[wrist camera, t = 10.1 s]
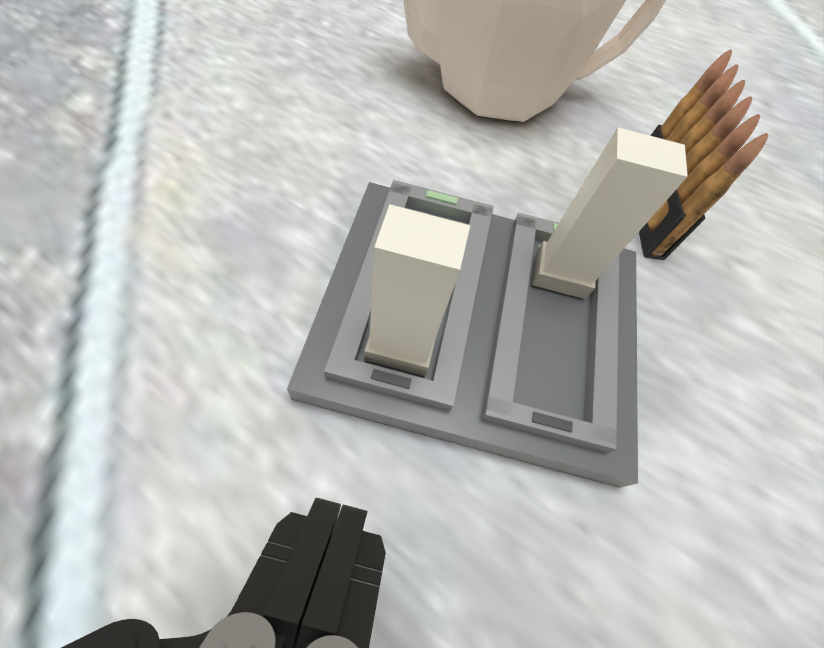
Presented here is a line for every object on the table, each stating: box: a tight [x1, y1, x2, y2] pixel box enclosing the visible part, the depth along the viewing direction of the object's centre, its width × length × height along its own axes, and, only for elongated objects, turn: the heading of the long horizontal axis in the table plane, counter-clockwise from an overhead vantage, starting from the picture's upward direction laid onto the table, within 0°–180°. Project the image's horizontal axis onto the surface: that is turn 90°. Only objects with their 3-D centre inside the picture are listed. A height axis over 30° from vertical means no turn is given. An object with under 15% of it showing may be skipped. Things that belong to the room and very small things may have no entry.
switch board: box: [287, 180, 638, 487], centre depth 31 cm, size 22×18×3 cm
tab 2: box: [532, 128, 687, 299], centre depth 27 cm, size 4×3×12 cm
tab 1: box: [364, 204, 470, 376], centre depth 23 cm, size 4×3×12 cm
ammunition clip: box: [639, 50, 768, 260], centre depth 35 cm, size 11×2×12 cm, turn 175°
